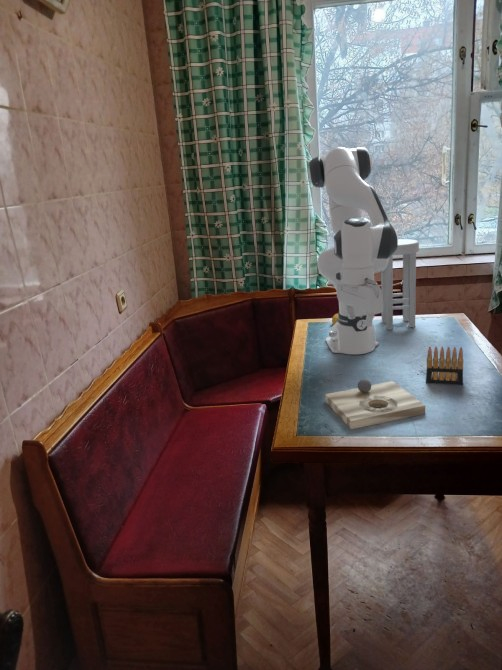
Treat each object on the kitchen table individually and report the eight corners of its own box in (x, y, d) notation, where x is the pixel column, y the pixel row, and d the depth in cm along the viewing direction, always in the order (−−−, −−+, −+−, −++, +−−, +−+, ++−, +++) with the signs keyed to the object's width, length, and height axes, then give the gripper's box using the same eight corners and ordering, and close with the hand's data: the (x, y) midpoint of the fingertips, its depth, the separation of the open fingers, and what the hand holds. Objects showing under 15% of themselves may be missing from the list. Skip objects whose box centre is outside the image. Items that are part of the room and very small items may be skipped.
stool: (375, 320, 218) (374, 240, 207) (411, 317, 217) (412, 237, 206) (383, 331, 204) (382, 246, 193) (421, 328, 203) (423, 242, 192)
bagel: (337, 330, 211) (337, 319, 209) (328, 323, 221) (328, 313, 220) (359, 327, 212) (359, 316, 211) (349, 320, 223) (349, 310, 221)
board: (325, 401, 149) (325, 394, 148) (392, 388, 153) (392, 380, 152) (351, 429, 132) (350, 421, 131) (425, 413, 136) (425, 405, 135)
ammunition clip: (462, 382, 152) (464, 346, 149) (463, 384, 151) (464, 348, 147) (425, 380, 156) (426, 345, 152) (425, 383, 154) (426, 347, 150)
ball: (355, 390, 148) (355, 378, 147) (367, 388, 149) (367, 375, 148) (361, 395, 144) (361, 383, 143) (373, 393, 145) (373, 380, 144)
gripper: (388, 279, 133) (389, 328, 137) (350, 269, 152) (351, 313, 156) (368, 283, 132) (369, 332, 136) (331, 272, 150) (333, 316, 154)
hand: (359, 322), depth 146 cm, fingers open, 8 cm apart
